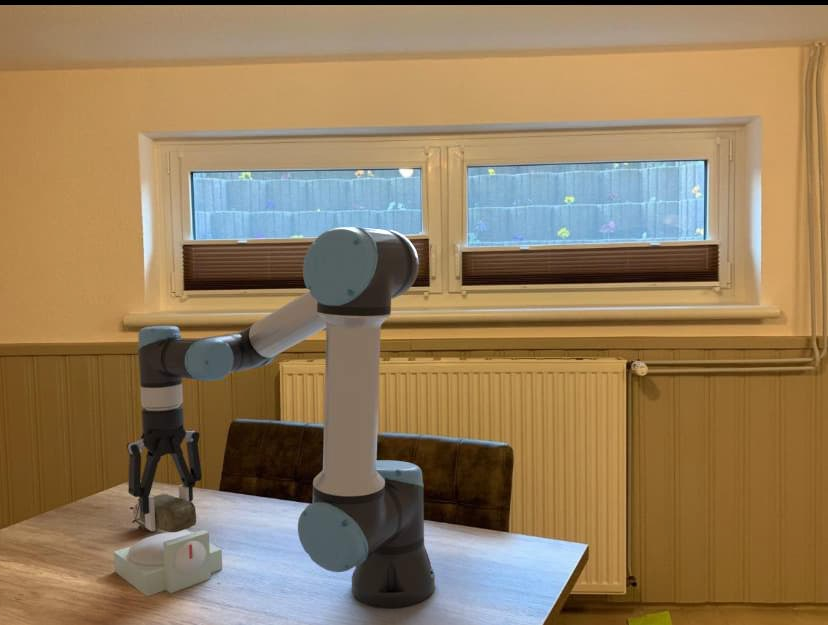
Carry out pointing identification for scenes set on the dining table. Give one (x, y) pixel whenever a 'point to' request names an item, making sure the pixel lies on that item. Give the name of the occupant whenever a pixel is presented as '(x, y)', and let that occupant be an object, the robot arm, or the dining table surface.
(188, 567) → the scale
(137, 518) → the game die
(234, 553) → the dining table surface
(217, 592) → the dining table surface
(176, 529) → the stone block
